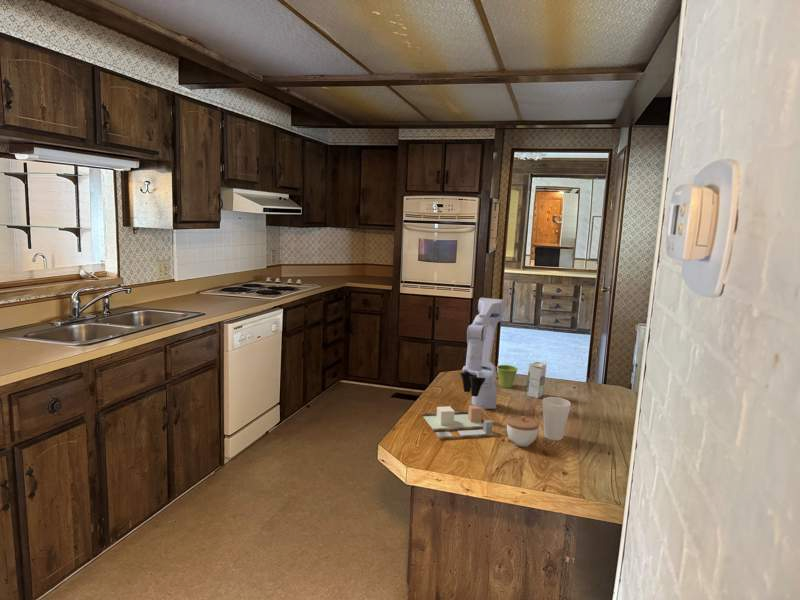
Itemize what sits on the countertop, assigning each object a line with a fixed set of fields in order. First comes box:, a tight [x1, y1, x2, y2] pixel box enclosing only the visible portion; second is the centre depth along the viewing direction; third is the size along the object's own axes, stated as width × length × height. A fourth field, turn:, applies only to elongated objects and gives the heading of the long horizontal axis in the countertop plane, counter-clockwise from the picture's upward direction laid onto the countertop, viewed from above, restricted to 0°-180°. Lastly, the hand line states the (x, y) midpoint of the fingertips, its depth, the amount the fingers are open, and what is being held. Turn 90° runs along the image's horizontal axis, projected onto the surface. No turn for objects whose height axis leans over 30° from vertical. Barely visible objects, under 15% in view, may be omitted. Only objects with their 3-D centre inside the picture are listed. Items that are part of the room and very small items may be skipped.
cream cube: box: [436, 405, 456, 425], centre depth 201 cm, size 5×5×5 cm
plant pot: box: [496, 364, 519, 389], centre depth 250 cm, size 9×9×9 cm
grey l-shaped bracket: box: [457, 419, 494, 436], centre depth 193 cm, size 12×5×5 cm, turn 105°
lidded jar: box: [506, 415, 540, 447], centre depth 188 cm, size 11×11×9 cm
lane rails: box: [420, 410, 499, 441], centre depth 199 cm, size 21×23×2 cm
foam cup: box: [541, 396, 572, 441], centre depth 194 cm, size 10×9×13 cm
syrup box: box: [525, 361, 548, 399], centre depth 238 cm, size 6×6×14 cm
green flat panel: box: [422, 405, 484, 430], centre depth 202 cm, size 20×13×6 cm, turn 104°
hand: (470, 394), depth 203 cm, fingers open, 7 cm apart
